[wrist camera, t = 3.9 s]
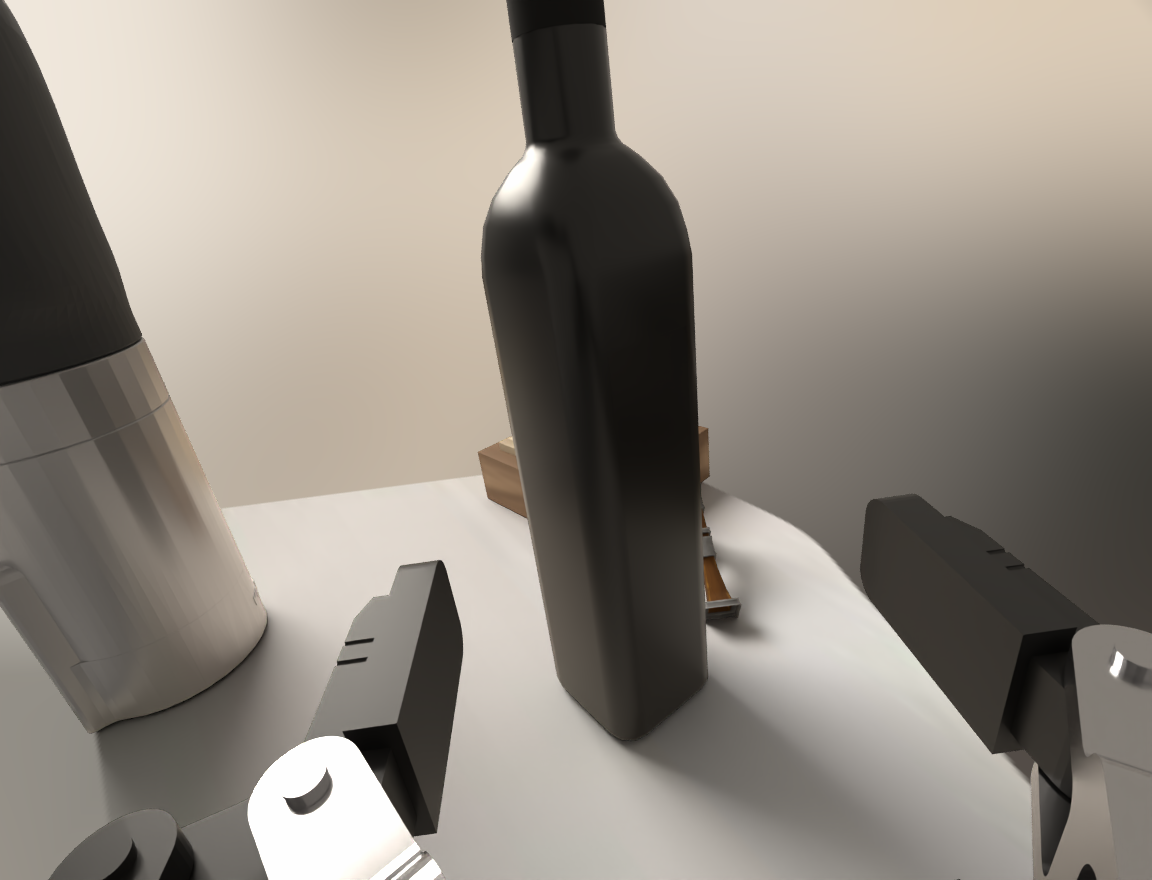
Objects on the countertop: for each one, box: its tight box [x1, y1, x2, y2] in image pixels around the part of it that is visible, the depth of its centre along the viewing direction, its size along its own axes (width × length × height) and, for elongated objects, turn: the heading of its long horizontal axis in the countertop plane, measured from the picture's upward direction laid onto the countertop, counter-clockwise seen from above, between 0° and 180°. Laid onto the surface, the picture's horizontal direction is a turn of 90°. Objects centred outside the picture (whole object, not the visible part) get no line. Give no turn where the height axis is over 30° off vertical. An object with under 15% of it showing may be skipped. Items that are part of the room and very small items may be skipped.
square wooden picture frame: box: [478, 426, 710, 518], centre depth 43 cm, size 12×12×5 cm
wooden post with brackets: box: [701, 498, 741, 620], centre depth 33 cm, size 2×8×4 cm, turn 2°
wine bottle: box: [481, 0, 708, 740], centre depth 21 cm, size 6×6×30 cm
